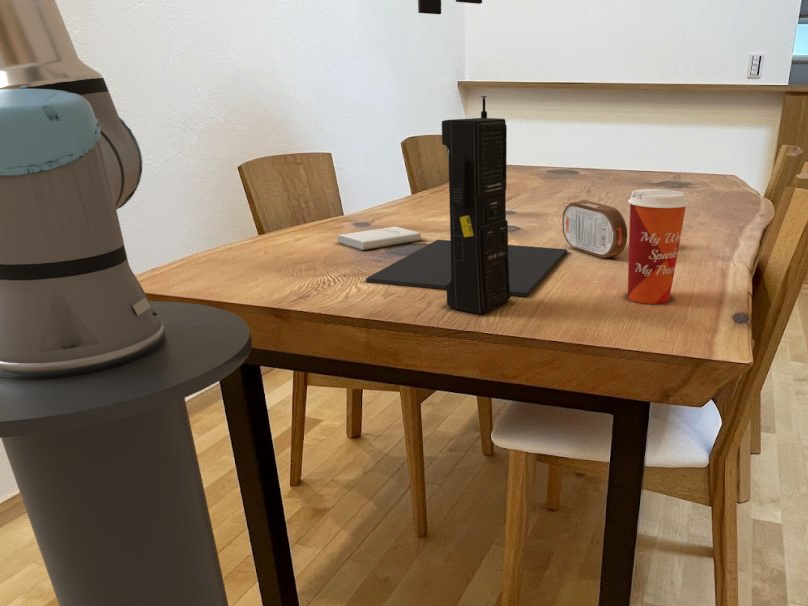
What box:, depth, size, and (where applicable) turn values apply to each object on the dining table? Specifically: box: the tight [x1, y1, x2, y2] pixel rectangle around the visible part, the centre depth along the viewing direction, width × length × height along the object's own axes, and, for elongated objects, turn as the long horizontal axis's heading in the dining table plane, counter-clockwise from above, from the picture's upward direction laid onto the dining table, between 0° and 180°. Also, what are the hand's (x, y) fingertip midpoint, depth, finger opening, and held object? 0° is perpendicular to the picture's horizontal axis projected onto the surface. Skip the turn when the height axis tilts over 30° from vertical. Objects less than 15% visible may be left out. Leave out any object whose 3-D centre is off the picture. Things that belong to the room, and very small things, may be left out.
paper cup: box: [627, 188, 690, 305], centre depth 87 cm, size 8×8×14 cm
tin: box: [561, 199, 628, 259], centre depth 113 cm, size 15×3×8 cm, turn 32°
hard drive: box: [337, 226, 422, 251], centre depth 120 cm, size 2×8×12 cm
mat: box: [365, 239, 568, 298], centre depth 105 cm, size 24×28×1 cm
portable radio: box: [441, 95, 511, 315], centre depth 81 cm, size 8×6×25 cm
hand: (447, 8), depth 75 cm, fingers open, 13 cm apart
